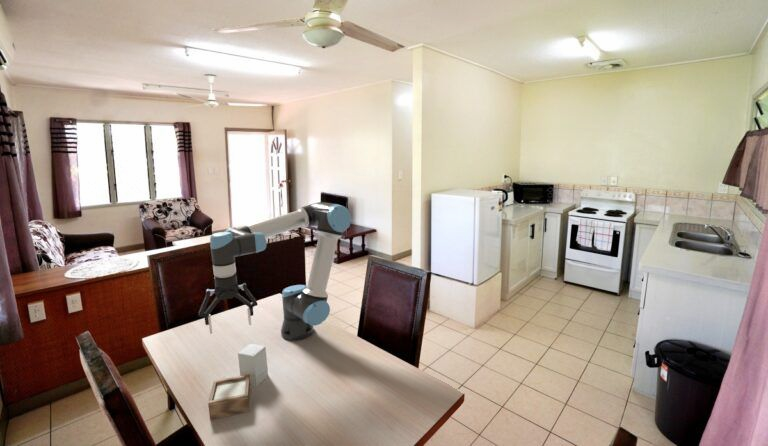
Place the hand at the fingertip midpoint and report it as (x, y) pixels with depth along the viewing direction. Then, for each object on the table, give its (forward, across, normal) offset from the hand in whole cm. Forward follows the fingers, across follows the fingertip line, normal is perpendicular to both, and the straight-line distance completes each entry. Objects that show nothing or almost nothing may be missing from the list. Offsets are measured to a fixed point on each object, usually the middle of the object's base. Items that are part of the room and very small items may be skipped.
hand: (230, 327), depth 136 cm
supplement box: (+21, -6, +6) cm, 22 cm away
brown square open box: (+20, +3, +16) cm, 26 cm away
